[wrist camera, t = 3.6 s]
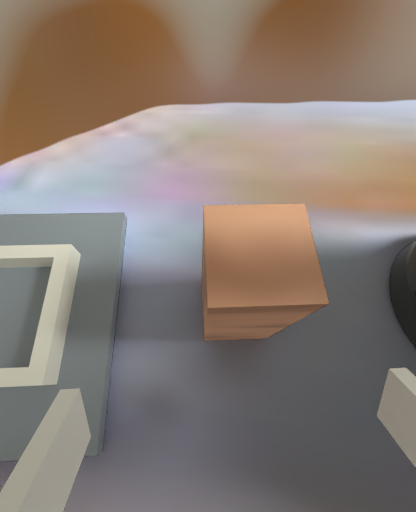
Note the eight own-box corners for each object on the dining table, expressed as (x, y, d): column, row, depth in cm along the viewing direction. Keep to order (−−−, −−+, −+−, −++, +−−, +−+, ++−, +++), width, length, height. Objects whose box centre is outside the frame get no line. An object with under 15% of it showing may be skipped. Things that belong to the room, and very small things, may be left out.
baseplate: (-51, 222, 26) (-82, 203, 23) (127, 219, 27) (118, 200, 24) (-160, 466, 18) (-229, 483, 15) (102, 451, 19) (84, 464, 16)
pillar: (201, 280, 25) (203, 205, 14) (258, 279, 25) (304, 203, 14) (203, 340, 22) (207, 307, 11) (266, 338, 23) (329, 303, 12)
